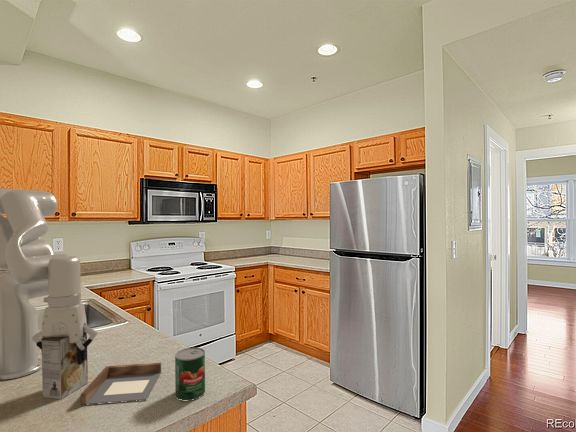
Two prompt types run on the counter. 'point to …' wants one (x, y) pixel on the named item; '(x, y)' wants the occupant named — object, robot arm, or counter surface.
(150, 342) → the counter surface
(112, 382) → the corner mat
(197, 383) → the canned tomato
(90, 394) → the corner walls
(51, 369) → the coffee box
